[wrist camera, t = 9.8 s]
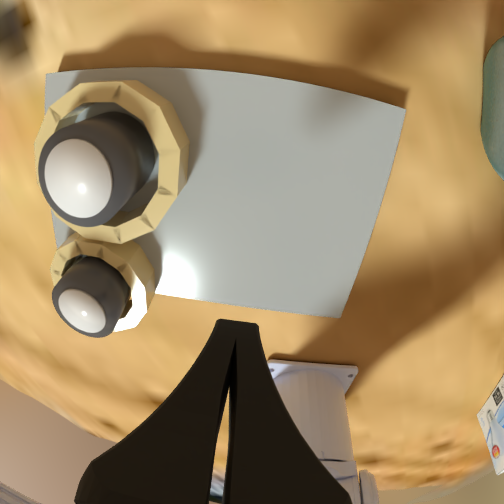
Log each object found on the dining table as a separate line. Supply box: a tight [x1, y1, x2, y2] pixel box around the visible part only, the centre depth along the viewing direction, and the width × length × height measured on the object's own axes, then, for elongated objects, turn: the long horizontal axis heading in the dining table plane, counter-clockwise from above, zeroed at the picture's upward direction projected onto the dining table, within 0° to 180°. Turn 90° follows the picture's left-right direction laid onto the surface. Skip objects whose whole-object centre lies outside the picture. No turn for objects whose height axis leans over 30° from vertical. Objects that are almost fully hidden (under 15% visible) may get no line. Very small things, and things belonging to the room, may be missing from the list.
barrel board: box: [34, 67, 406, 338], centre depth 17 cm, size 16×20×5 cm
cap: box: [38, 112, 154, 227], centre depth 14 cm, size 5×5×4 cm
